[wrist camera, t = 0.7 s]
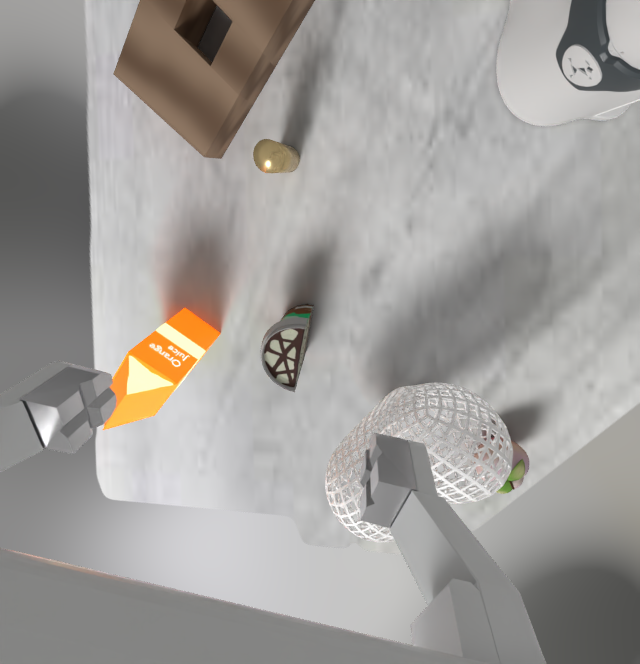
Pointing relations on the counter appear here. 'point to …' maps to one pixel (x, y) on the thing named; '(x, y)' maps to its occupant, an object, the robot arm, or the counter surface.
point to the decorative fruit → (518, 467)
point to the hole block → (206, 63)
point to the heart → (450, 499)
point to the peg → (275, 157)
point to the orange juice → (159, 367)
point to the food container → (287, 346)
